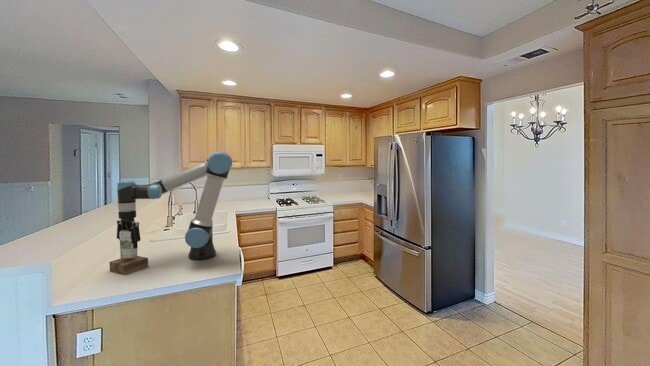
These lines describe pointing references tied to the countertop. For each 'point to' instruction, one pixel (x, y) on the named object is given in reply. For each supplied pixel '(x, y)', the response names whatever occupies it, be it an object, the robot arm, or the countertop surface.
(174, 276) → the countertop surface
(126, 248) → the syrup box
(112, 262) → the walnut plinth
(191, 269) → the countertop surface
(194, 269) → the countertop surface
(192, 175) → the robot arm
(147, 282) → the countertop surface
